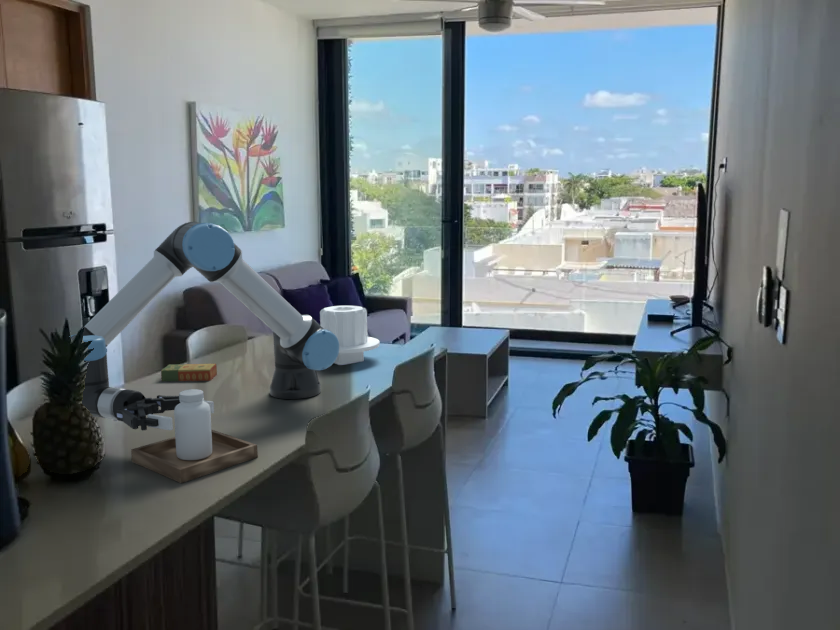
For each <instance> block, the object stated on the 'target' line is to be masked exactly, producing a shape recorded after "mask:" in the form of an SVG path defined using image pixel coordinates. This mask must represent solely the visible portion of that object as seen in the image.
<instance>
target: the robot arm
mask: <svg viewBox="0 0 840 630" xmlns="http://www.w3.org/2000/svg"><path fill="white" fill-rule="evenodd" d="M192 268H194V269H195V270H196V271H197V272H198V273H199V274H201V276H203V277H204V278H205V279H206V281H209V283H219V284H220V285H221V286H223V287H224V289H226V290H227V291H228V292H229V293H230V294H232V296H234V298H236V299H237V300H238V301H239V302H240V303H241V304H242V305H244V306H245V307H246V308H247V309H248V310H249V311H250V312H251V313H252V314H254V316H255V317H256V318H258V319H259V320H260V321H261V322H262V323H264V324H265V326H267V328H269V329H270V330H271V331H272V333H273V355H274V372H273V375H272V379H271V384H270V386H269V395H270V396H272V397H274V398H276V399H283V400H298V399H299V400H300V399H306V398H307V399H308V398H311V397H314V396H317V395H319V394H321V382H320V381H319V377H318V374H317V372H316V371H323V370H326V369H328V368H330V367H331V366H332V365H333V364H335V363H334V362H335V360H336V359H337V357H338V354H339V341H338V339H337V337H336V336H335V334H333V333H332V332H331V331H329V330H326V329H324V328H323V327H321V326H320V323H319V322H317V320H315V319H314V318H313V317H312V316H311V315H309V314H301V313H300V312H299V311H298V310H297V309H296V308H295V307H294V306H292V305H291V303H290V302H288V301H287V300H286V299H285V298H284V297H283V296H282V295H281V294H280V292H278V291H277V290H276V289H274V287H272V286H271V285H270V284H269V282H267V281H266V280H265V279H264V278H263V277H262V276H261V275H260V274H259V273H258V272H257V271H256V270H254V269H253V268H252V267H251V266H250V265H249V264H248V263H247V262H246V261H245V260H244V259H243V250H242V249H241V248H240V247H239V246H238V245H236V243H235V242H234V239H233V237H232V235H231V234H230V233H229V232H228V231H227V230H226V229H225V228H224V227H222V226H220V225H218V224H215V223H212V222H199V221H188V222H185V223H183V224H181V225H178V227H176V228H175V229H174V230H173V231H172V232H171V233H170V234H168V236H167V237H166V238H165V239H164V240H163V241H162V242H161V243H160V244H159V245H158V247H157V248H155V250H153V257H152V258H151V259H150V260H149V261H148V262H147V263H146V264H144V266H143V267H142V268H141V269H140V270H139V271H138V272H137V273H136V274H135V275H134V276H133V277H132V278H131V279H130V280H129V281H128V282H127V283H126V284H125V285H124V286H123V287H122V288H121V289H120V290H119V291H118V292H117V293H116V294H115V295H113V297H112V298H111V299H110V300H109V301H108V302H107V303H106V304H105V305H104V306H102V308H101V309H100V310H99V311H98V312H97V313H96V314H95V315H94V316H93V317H92V318H91V319H90V320H89V321H88V322H87V323H86V324H85V325H84V326H83V327H82V328H81V329H83V328H84V332H83V341H84V342H88V341H92V342H91V344H90V345H89V346H88V349H93V348H94V350H93V351H91V353H90V354H89V355H88V356H87V357H86V358H85V359H84V362H86V361H90V362H89V364H88V366H87V369H88V370H87V373H86V378H85V389H84V391H83V400H82V404H83V405H84V406H85V407H86V408H87V409H88V410H89V411H90V413H91V414H92V415H93V416H92V417H96V418H103V419H107V420H113V421H114V422H117V421H119V422H123V423H124V424H126V425H127V426H128V427H129V428H131V429H132V430H137V429H139V427H140V430H141V431H147V428H154V429H159V430H165V431H172V430H174V428H173V426H174V425H173V417H172V416H171V417H170V416H165V415H158V414H164V413H165V412H166V411H167V412H169V411H174V409H175V407H176V406H177V405H178V404H179V403H181V402H180V400H179V395H160V394H159V395H156V398H155V397H154V398H152V397H145V395H144V394H143V393H142V392H141V391H140V390H133V389H126V388H120V387H113V386H110V382H109V381H110V380H109V379H110V378H109V369H108V368H109V367H108V355H107V354H108V348H107V347H108V345H110V344H111V343H112V342H113V341H114V340H115V339H116V337H118V336H119V334H120V333H122V331H123V330H125V329H126V328H127V327H128V326H129V324H131V322H133V321H134V319H135V318H136V317H137V316H139V314H140V313H141V312H142V311H143V310H144V309H145V308H146V307H148V305H149V304H151V302H152V301H153V300H154V299H155V298H156V297H157V296H158V295H159V294H160V293H161V292H162V291H163V290H164V289H165V288H166V287H167V286H168V285H169V284H170V283H171V282H172V281H173V280H174V279H175V278H177V277H182V276H183V275H184V274H185V273H186V272H188V271H189V270H190V269H192ZM76 335H77V333H76V334H72V335H70V336H71V339H72V340H73V339H74V338H75V336H76ZM203 401H204V402H206V403H208V404H209V406H210V411H211V414H214V413H215V404H214V401H213V400H205V399H204V400H203ZM159 407H160V408H159Z"/></svg>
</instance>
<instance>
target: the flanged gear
mask: <svg viewBox="0 0 840 630" xmlns="http://www.w3.org/2000/svg"><path fill="white" fill-rule="evenodd" d="M319 321H320V323H319V325H320V326H321V327H323V328H324V329H326V330H329V331H331V332H332V333H333V334H335V336H336V337H337V339H338V341H339V354H338V357H337V359H336V360H335V362H334V363H333V364H335V365H338V366H345V365H350V364H351V365H352V364H355V363H362V362H364V359H365V358H364V352H369V351H373V350H375V349H377V348H379V347H380V342H381V341H380V340H379V339H378V338H376V337H371V336H368V309H367V308H366V307H363V306H359V305H334V306H333V305H332V306H328V307H324V308H322V309H321V310H320V311H319Z"/></svg>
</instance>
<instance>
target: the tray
mask: <svg viewBox="0 0 840 630" xmlns="http://www.w3.org/2000/svg"><path fill="white" fill-rule="evenodd" d="M211 433H212V454H211V455H210V456H208V457H206V458H204V459H200V460H182V459H179V458H178V457H177V454H176V439H175V436H173V437H170V438H166V439H163V440H159V441H155V442H152V443H149V444H145V445H142V446H138V447H135V448H134V447H133V448H132V449H131V448H130V449H131V451H130V452H131V462H132V463H133V464H135V465H139V466H141V467H143V468H146V469H148V470H150V471H152V472H154V473H157V474H158V475H161V476H163V477H166V478H168V479H170V480H173V481H176V482H178V483H179V484H183V483H186V482H189V481H192V480H195V479H197V478H198V479H199V478H202V477H204V476H207V475H209V474H212V473H215V472H218V471H222V470H224V469H227V468H230V467H231V468H232V467H233V466H237V465H239V464H241V463H245V462H248V461H251V460H254V459H257V458H258V457H259V456H258V455H259V453H258V444H255V443H252V442H250V441H247V440H244V439H240V438H238V437H235V436H232V435H229V434H226V433H223V432H220V431H217V430H215V429H212V428H211Z"/></svg>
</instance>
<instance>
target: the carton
mask: <svg viewBox="0 0 840 630" xmlns="http://www.w3.org/2000/svg"><path fill="white" fill-rule="evenodd" d="M160 371H161V372H160V378H161V382H186V381H187V382H195V381H196V382H198V381H199V382H203V381H205V382H206V381H207V382H211V381H212V380H213V379H214V378H215V377H216V376H218V367H217V363H185V364H184V363H183V364H182V363H181V364H179V363H178V364H175V363H174V364H173V363H172V364H170V363H169V364H167V366H165V367H163V368H162V369H161V370H160Z"/></svg>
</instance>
